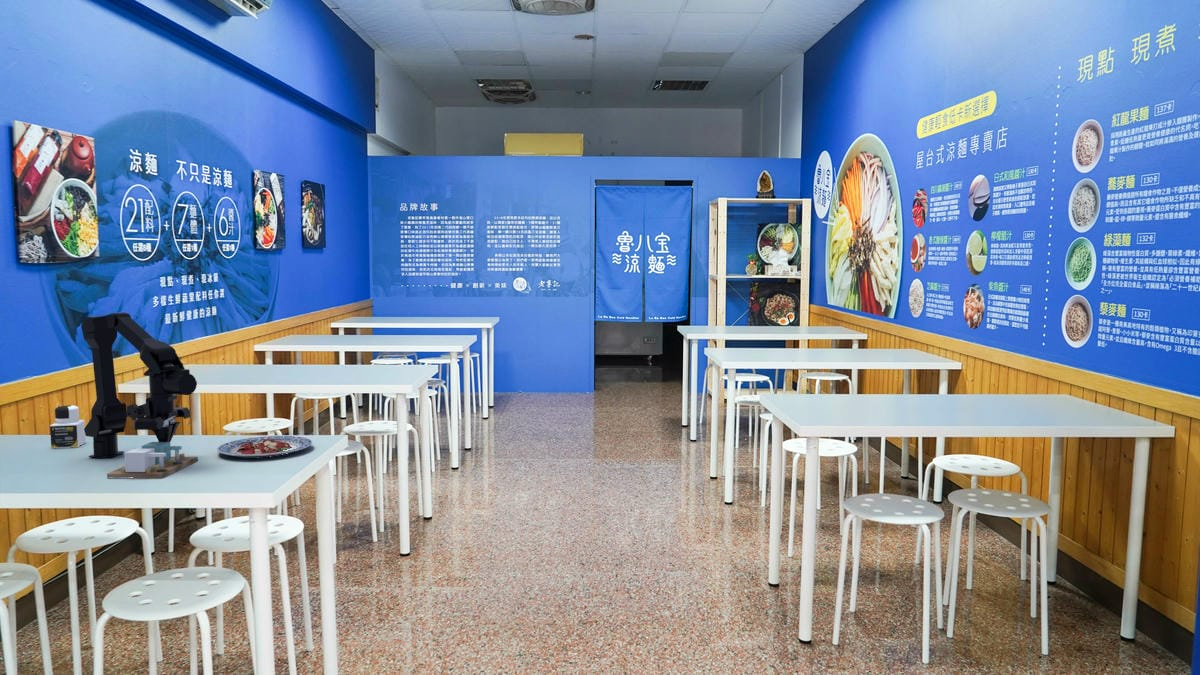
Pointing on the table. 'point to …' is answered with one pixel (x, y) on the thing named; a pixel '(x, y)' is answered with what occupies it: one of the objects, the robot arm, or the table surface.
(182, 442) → the table surface
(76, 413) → the medicine bottle
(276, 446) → the ceramic plate
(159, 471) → the board
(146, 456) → the fixed leg
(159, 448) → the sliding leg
